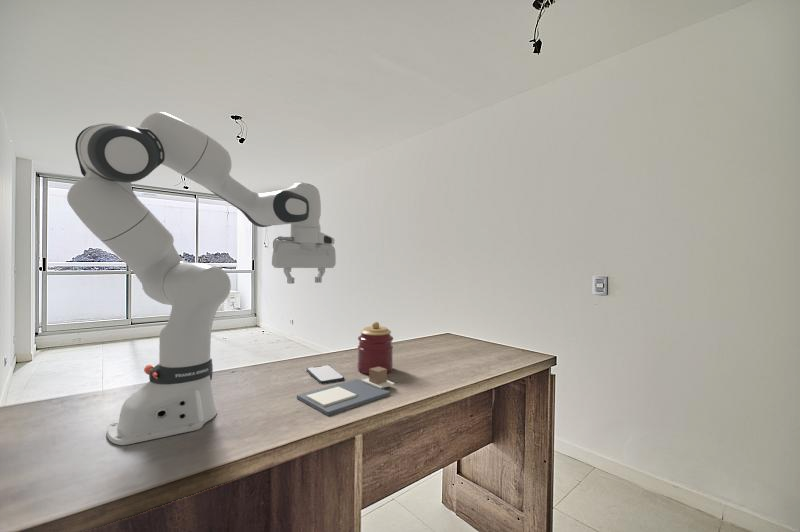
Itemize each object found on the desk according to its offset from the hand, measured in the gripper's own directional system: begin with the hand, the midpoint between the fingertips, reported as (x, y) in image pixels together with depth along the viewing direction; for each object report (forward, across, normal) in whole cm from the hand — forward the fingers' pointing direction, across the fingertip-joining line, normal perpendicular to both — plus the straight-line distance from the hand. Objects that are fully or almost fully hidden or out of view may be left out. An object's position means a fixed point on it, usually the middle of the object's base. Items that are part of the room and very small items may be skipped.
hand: (304, 283), depth 113 cm
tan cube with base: (+32, +19, -13) cm, 39 cm away
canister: (+33, +30, +1) cm, 45 cm away
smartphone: (+34, +13, +8) cm, 37 cm away
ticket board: (+33, +6, -13) cm, 36 cm away
